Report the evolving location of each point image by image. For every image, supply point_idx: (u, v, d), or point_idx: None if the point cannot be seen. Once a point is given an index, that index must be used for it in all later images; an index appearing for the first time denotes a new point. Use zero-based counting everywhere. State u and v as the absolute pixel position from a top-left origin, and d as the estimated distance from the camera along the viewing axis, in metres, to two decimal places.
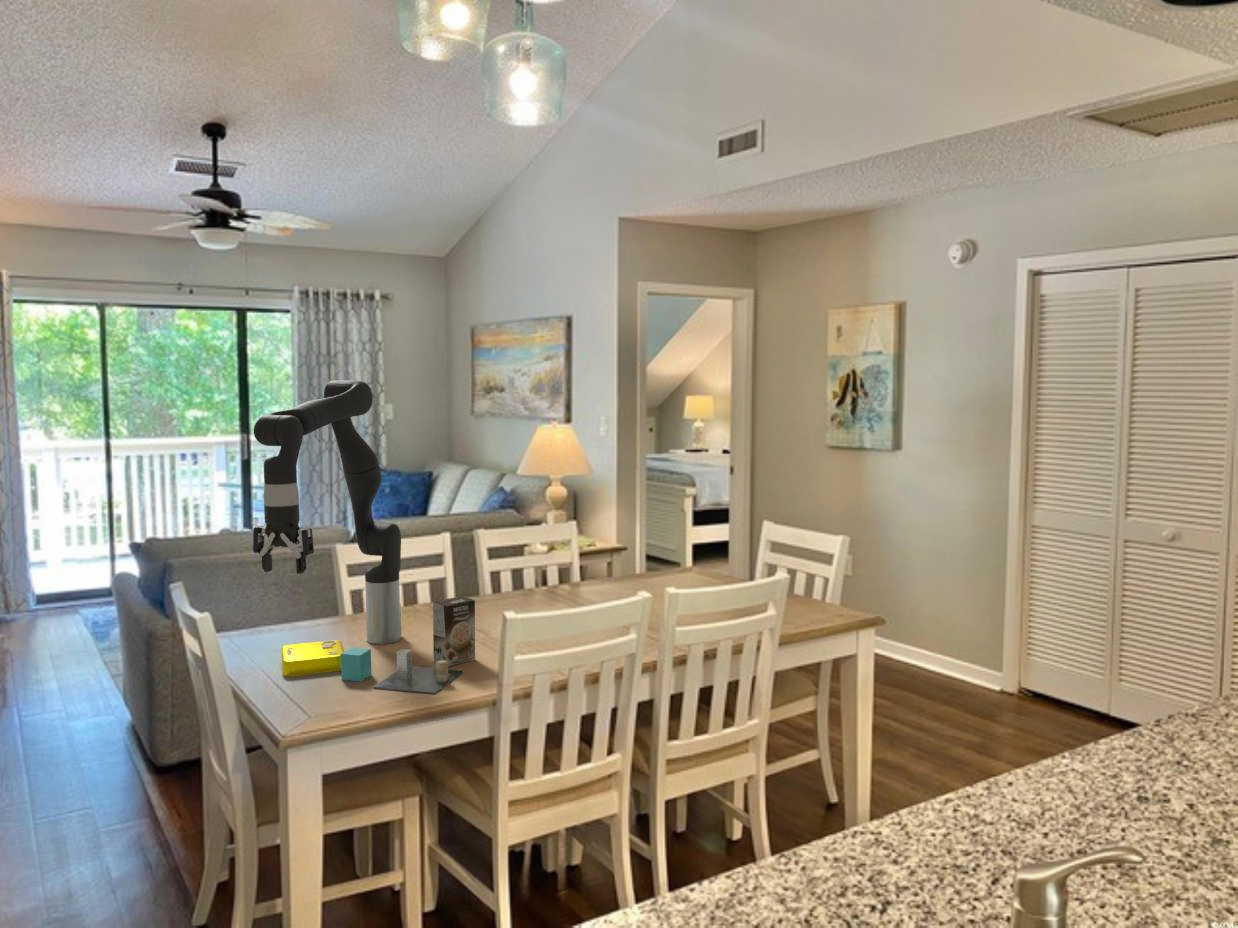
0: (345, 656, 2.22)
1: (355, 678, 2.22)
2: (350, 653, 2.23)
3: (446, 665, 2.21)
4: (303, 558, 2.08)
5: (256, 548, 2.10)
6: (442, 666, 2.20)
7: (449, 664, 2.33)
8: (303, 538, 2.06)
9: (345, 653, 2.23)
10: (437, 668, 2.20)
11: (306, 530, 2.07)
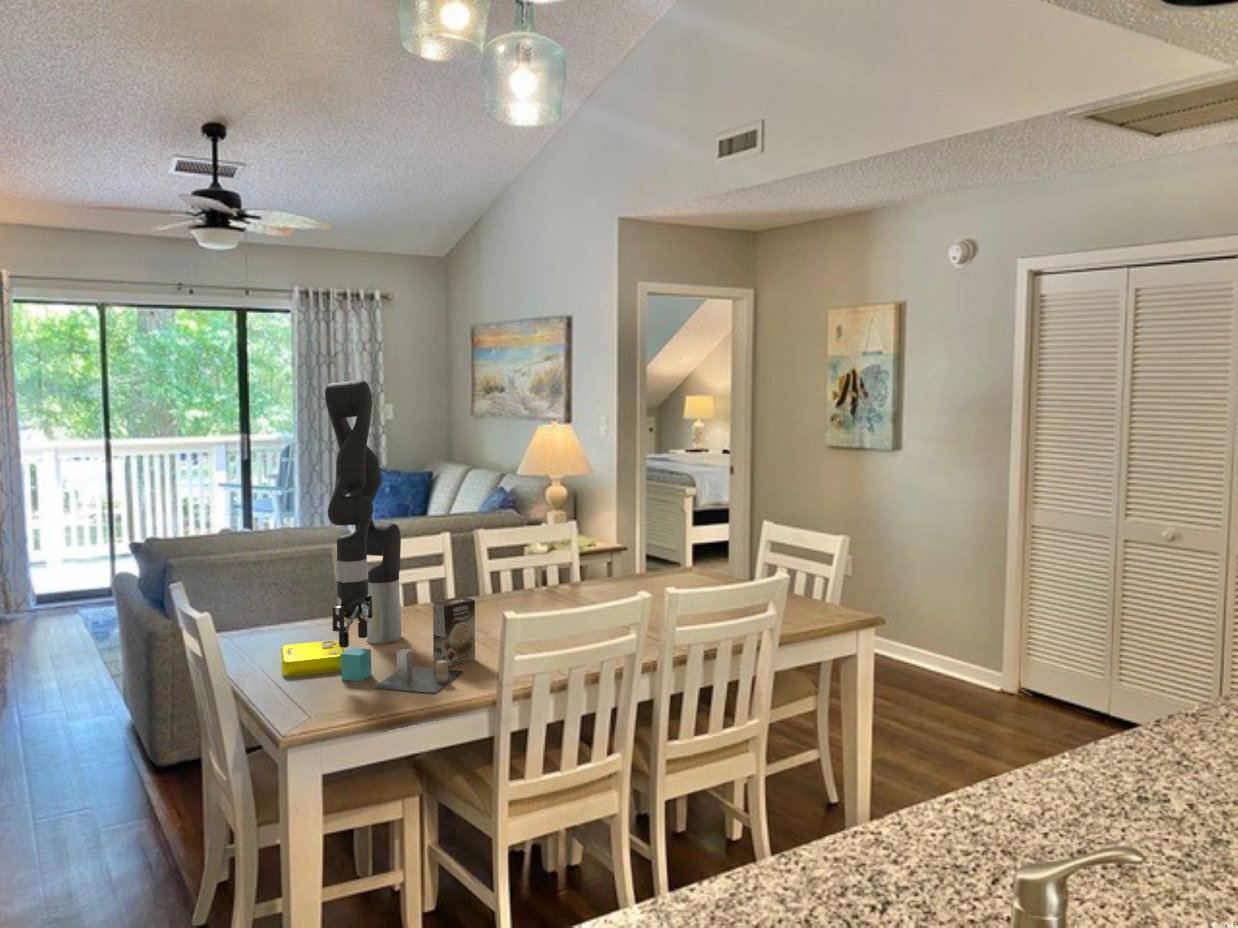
0: (345, 656, 2.22)
1: (355, 678, 2.22)
2: (350, 653, 2.23)
3: (446, 665, 2.21)
4: None
5: (343, 627, 2.17)
6: (442, 666, 2.20)
7: (449, 664, 2.33)
8: (370, 603, 2.29)
9: (345, 653, 2.23)
10: (437, 668, 2.20)
11: None
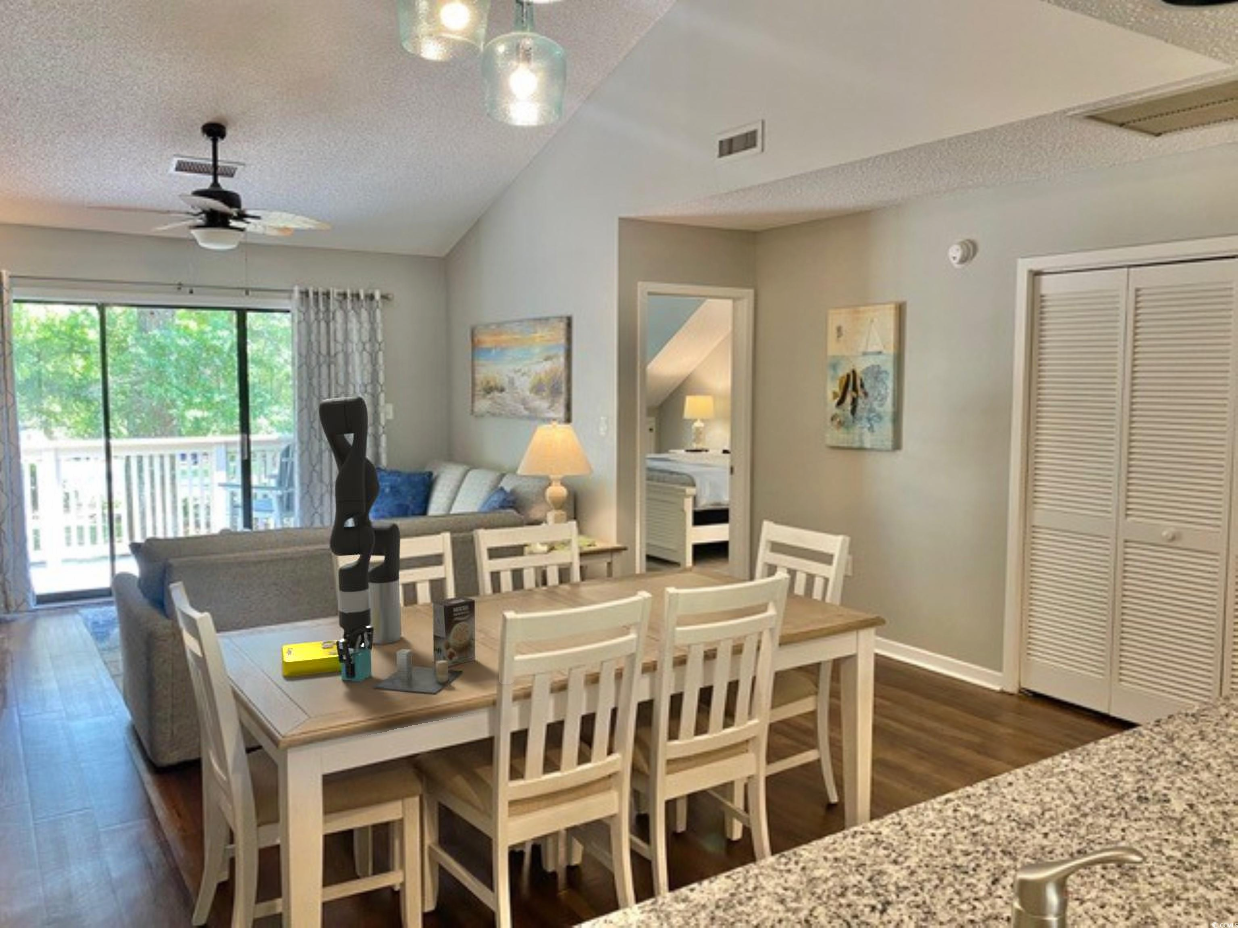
0: None
1: (355, 678, 2.22)
2: (350, 653, 2.23)
3: (446, 665, 2.21)
4: None
5: (349, 658, 2.20)
6: (442, 666, 2.20)
7: (449, 664, 2.33)
8: (371, 634, 2.29)
9: None
10: (437, 668, 2.20)
11: None
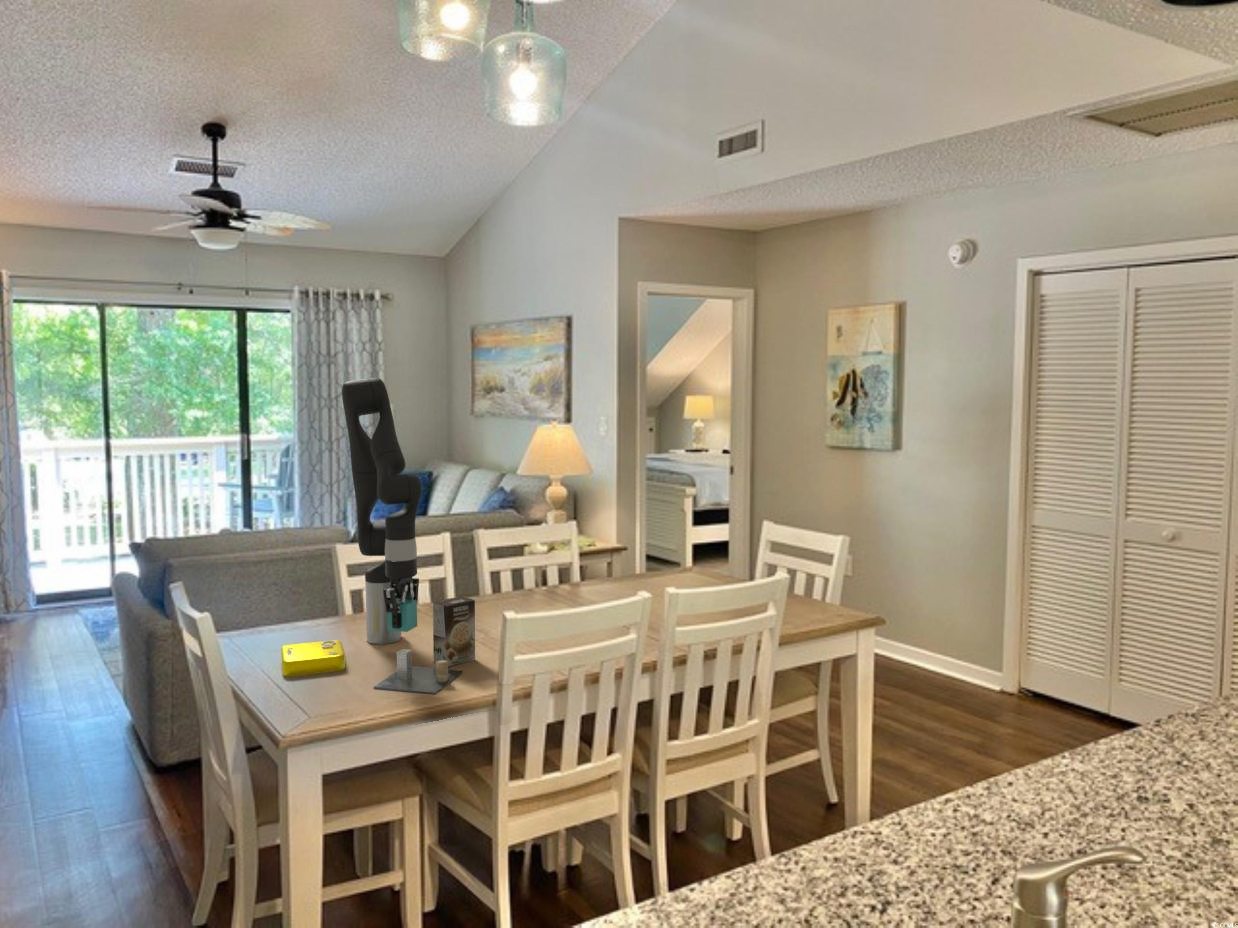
0: None
1: (401, 628, 2.20)
2: None
3: (446, 665, 2.21)
4: None
5: (397, 608, 2.17)
6: (442, 666, 2.20)
7: (449, 664, 2.33)
8: (417, 586, 2.27)
9: None
10: (437, 668, 2.20)
11: None
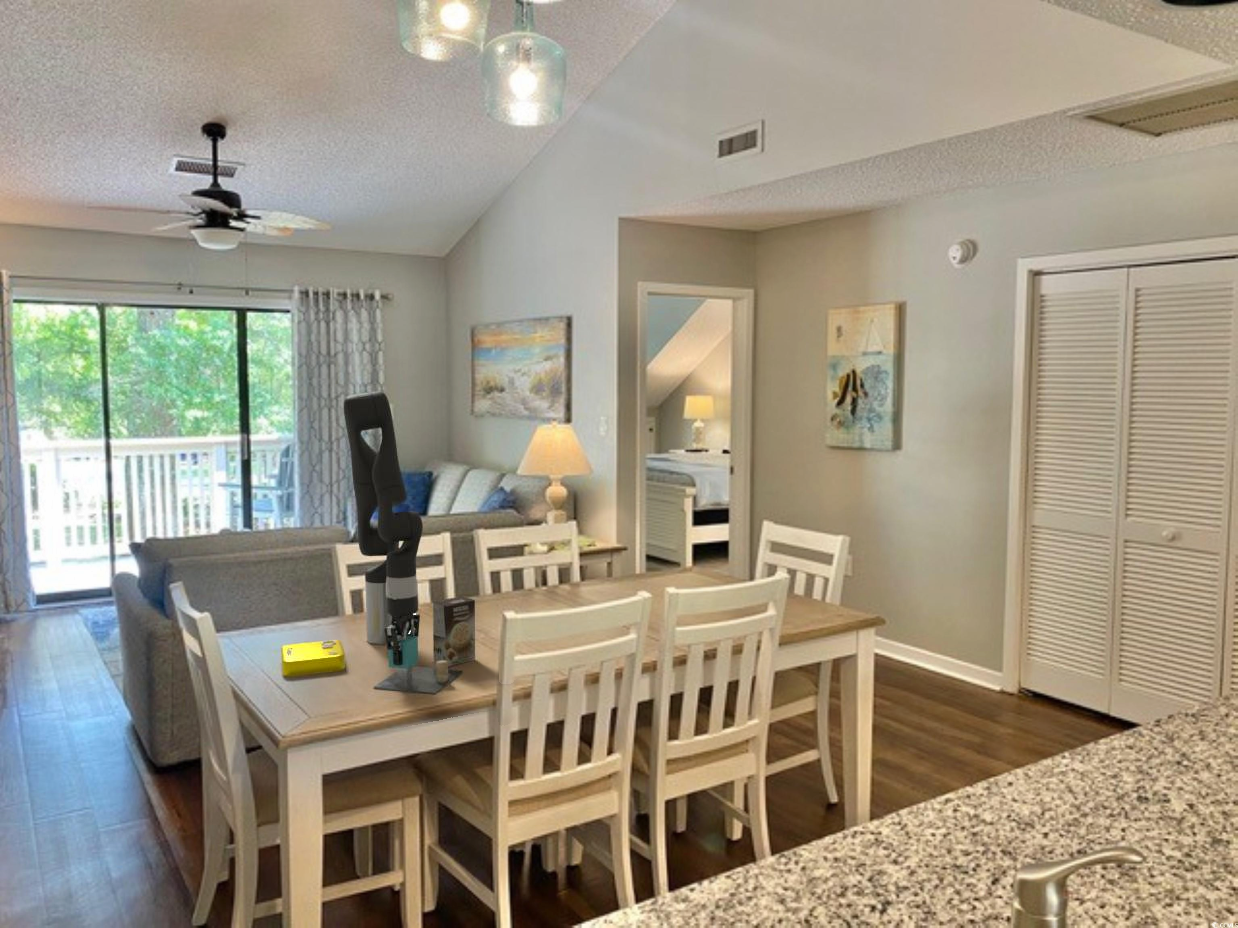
0: None
1: (402, 665, 2.21)
2: None
3: (446, 665, 2.21)
4: None
5: (398, 645, 2.18)
6: (442, 666, 2.20)
7: (449, 664, 2.33)
8: (418, 622, 2.28)
9: None
10: (437, 668, 2.20)
11: None
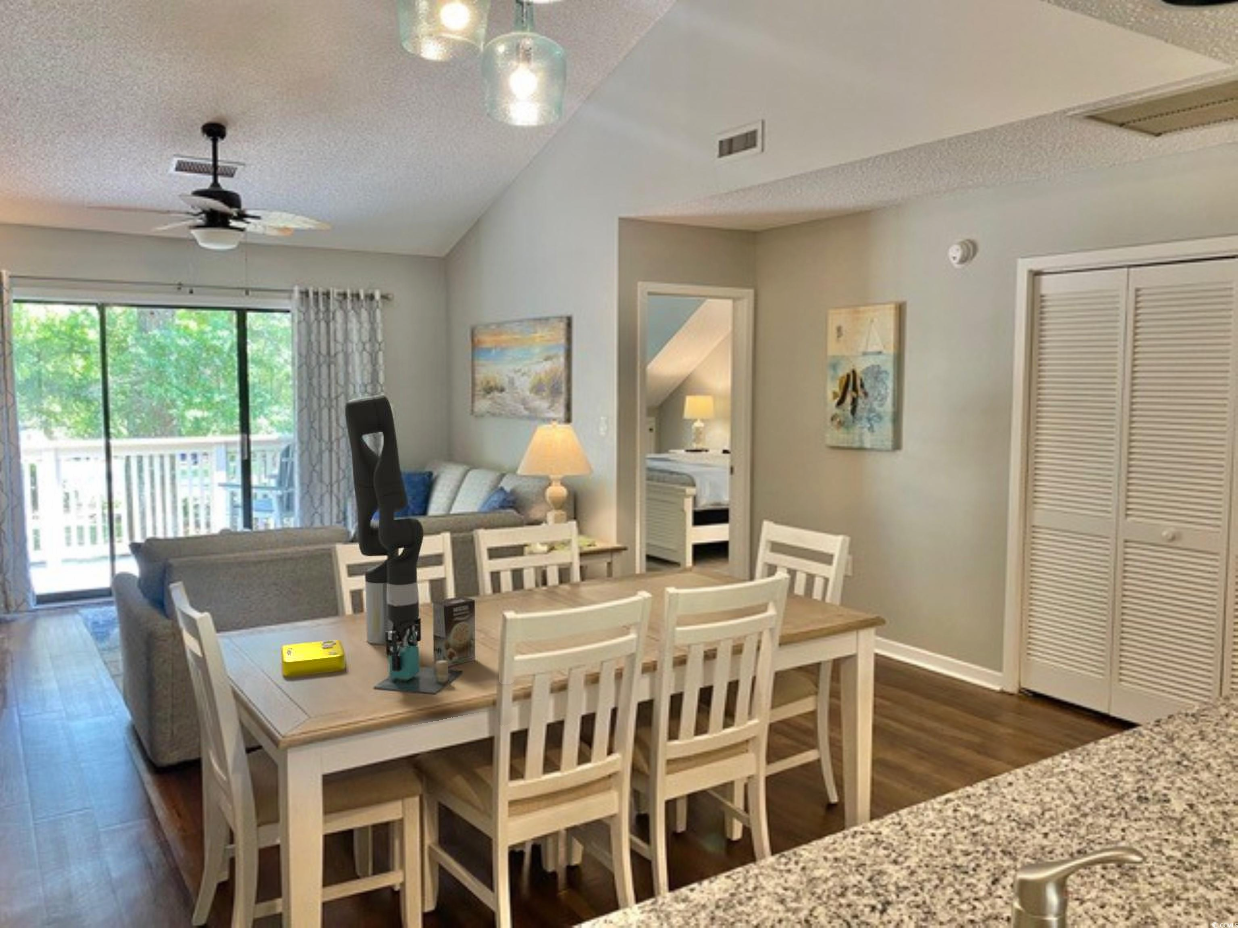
0: None
1: (403, 675, 2.21)
2: None
3: (446, 665, 2.21)
4: None
5: (397, 651, 2.17)
6: (442, 666, 2.20)
7: (449, 664, 2.33)
8: (419, 625, 2.29)
9: None
10: (437, 668, 2.20)
11: None
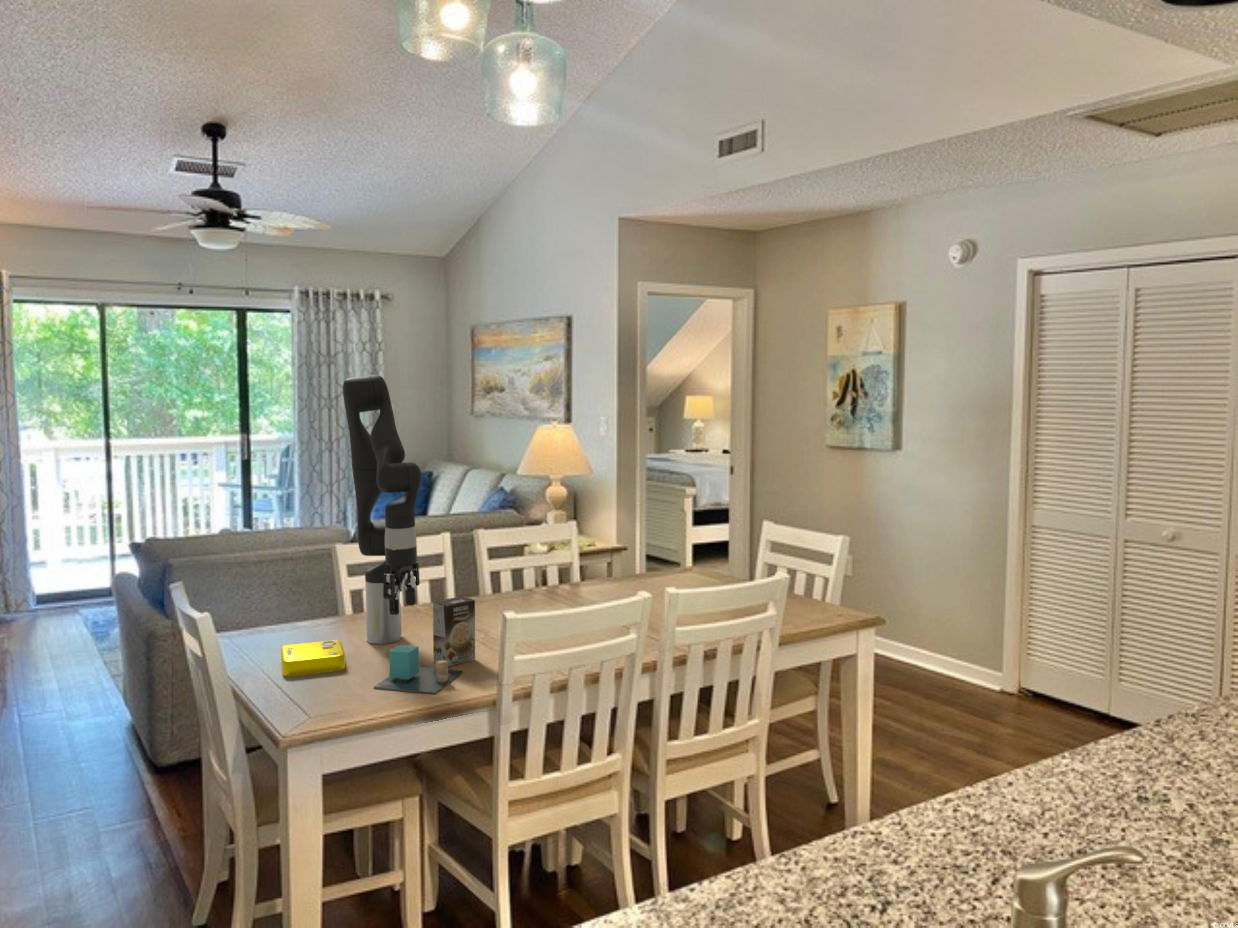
0: (393, 653, 2.21)
1: (403, 675, 2.21)
2: (398, 650, 2.22)
3: (446, 665, 2.21)
4: None
5: (394, 594, 2.17)
6: (442, 666, 2.20)
7: (449, 664, 2.33)
8: (417, 570, 2.28)
9: (393, 650, 2.22)
10: (437, 668, 2.20)
11: None
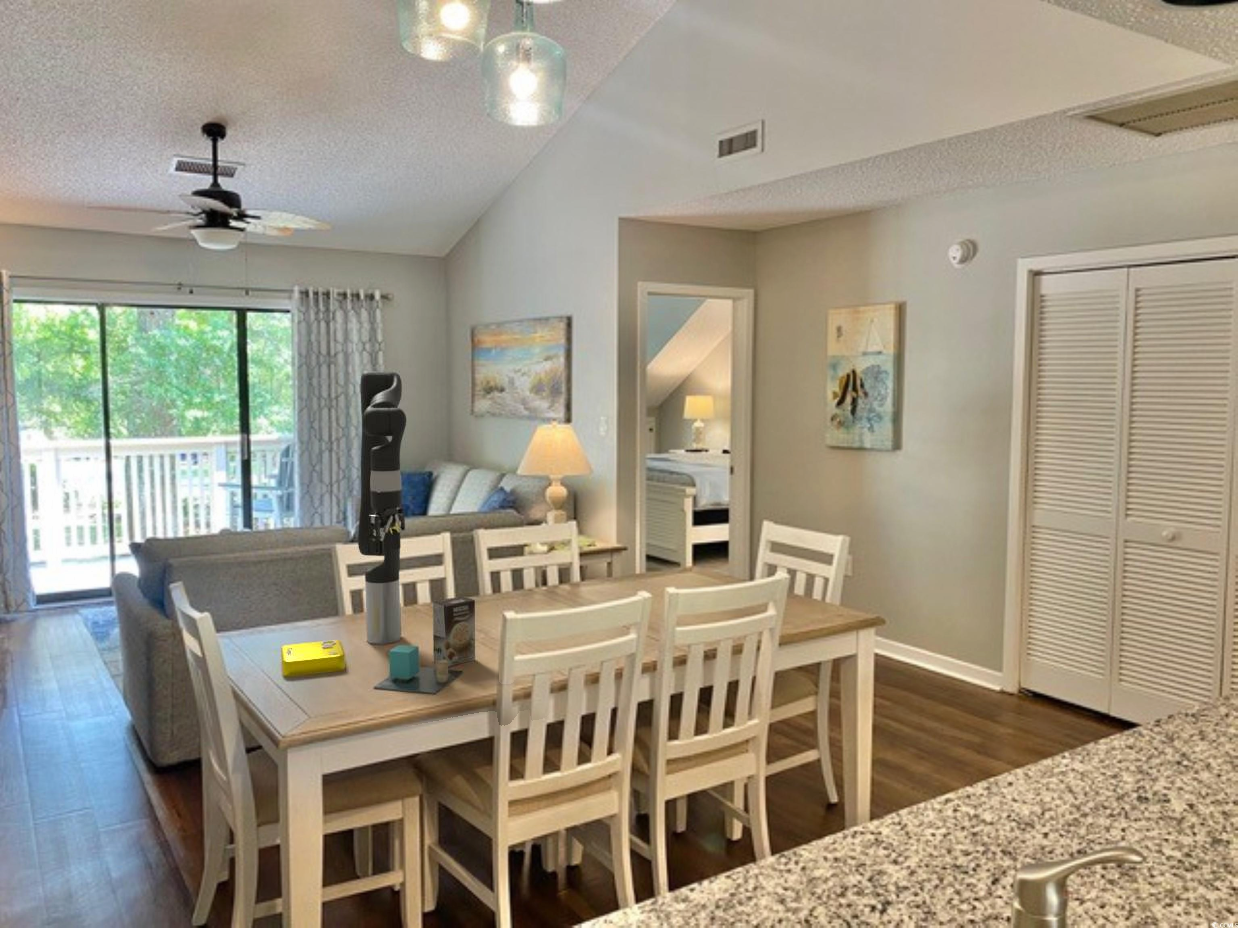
0: (393, 653, 2.21)
1: (403, 675, 2.21)
2: (398, 650, 2.22)
3: (446, 665, 2.21)
4: None
5: (379, 535, 2.22)
6: (442, 666, 2.20)
7: (449, 664, 2.33)
8: (403, 515, 2.33)
9: (393, 650, 2.22)
10: (437, 668, 2.20)
11: None
